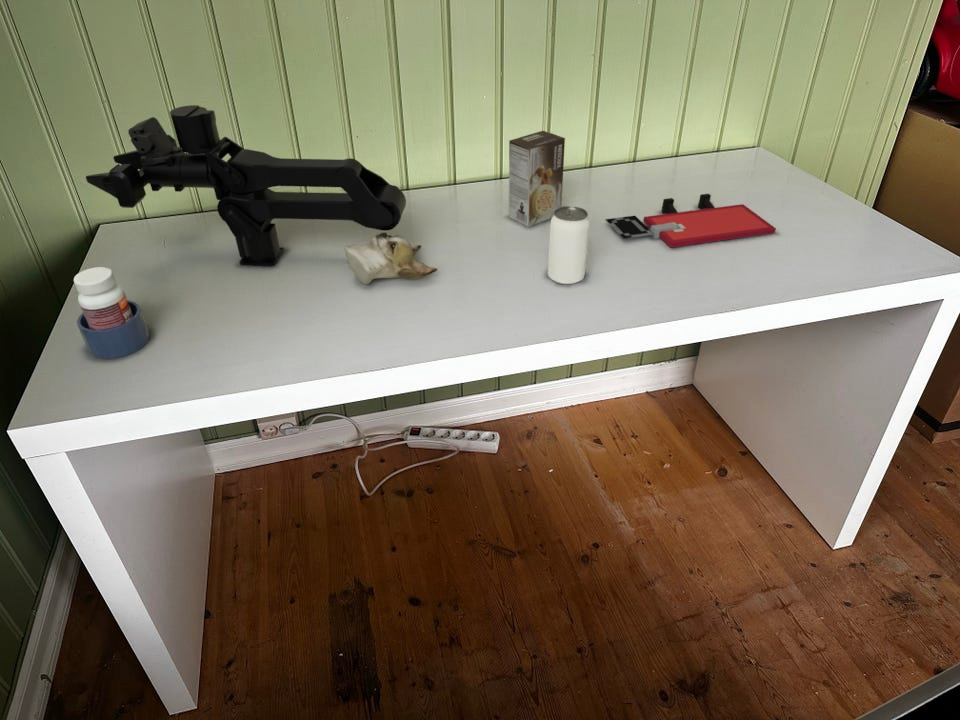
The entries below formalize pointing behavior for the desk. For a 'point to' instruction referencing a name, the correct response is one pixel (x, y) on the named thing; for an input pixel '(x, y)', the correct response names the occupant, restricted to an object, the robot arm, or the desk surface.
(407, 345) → the desk surface
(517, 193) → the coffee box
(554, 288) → the desk surface
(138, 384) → the desk surface
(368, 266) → the ceramic sculpture
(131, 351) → the cup
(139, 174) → the robot arm
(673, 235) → the red board with handle
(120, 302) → the pill bottle
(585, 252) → the can
